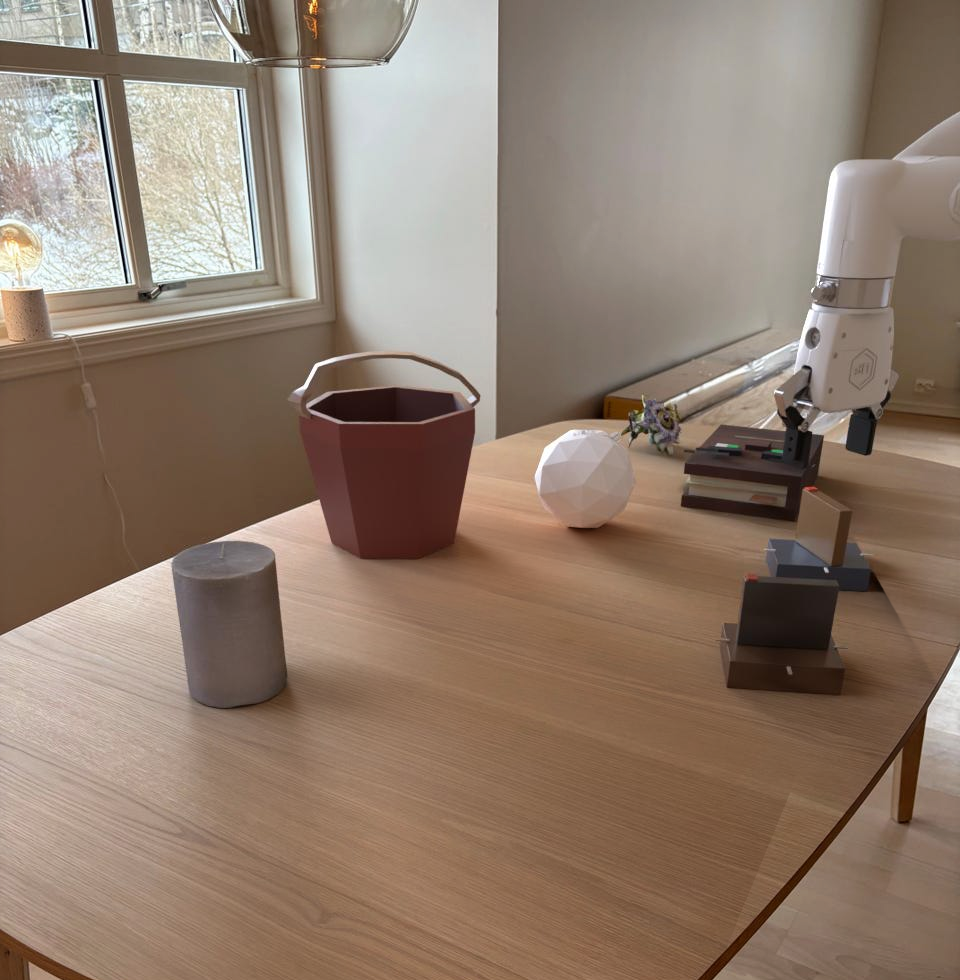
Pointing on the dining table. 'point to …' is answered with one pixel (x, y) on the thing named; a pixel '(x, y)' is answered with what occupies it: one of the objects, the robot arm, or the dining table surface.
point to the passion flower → (656, 425)
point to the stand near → (780, 666)
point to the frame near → (786, 612)
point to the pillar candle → (230, 622)
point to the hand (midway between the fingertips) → (826, 458)
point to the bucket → (388, 460)
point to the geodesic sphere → (585, 478)
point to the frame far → (823, 526)
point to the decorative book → (748, 473)
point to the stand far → (817, 565)
